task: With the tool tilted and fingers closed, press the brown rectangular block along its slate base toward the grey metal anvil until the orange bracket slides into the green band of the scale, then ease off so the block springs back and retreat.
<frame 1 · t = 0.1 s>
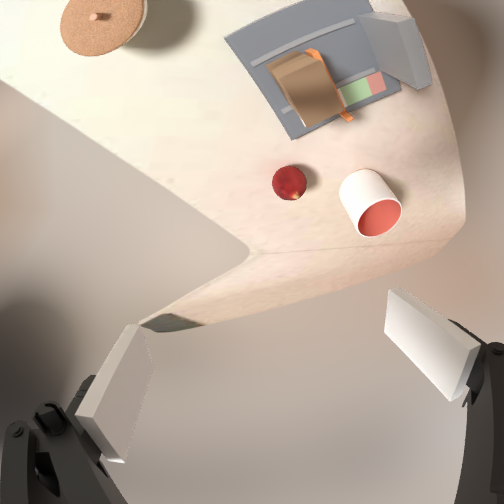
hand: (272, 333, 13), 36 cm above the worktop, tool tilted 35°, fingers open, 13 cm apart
brown rectangular block: (301, 84, 30), point 7 cm above the worktop, slide at 0.0 cm
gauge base: (322, 58, 32), on the worktop
cup: (358, 185, 53), on the worktop
onion: (284, 170, 48), on the worktop
orange bracket: (329, 84, 32), point 5 cm above the worktop, slide at 0.0 cm
lidded jar: (118, 15, 23), on the worktop
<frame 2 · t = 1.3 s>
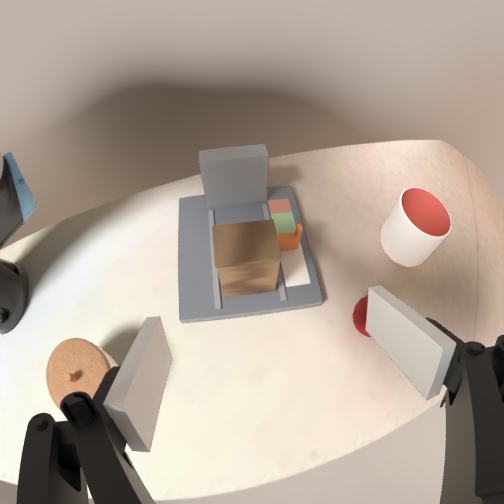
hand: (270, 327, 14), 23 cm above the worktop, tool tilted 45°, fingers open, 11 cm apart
brown rectangular block: (246, 261, 35), point 7 cm above the worktop, slide at 0.0 cm
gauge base: (242, 248, 44), on the worktop
cup: (401, 245, 44), on the worktop
onion: (363, 323, 37), on the worktop
orange bracket: (261, 241, 39), point 5 cm above the worktop, slide at 0.0 cm
lidded jar: (104, 385, 32), on the worktop
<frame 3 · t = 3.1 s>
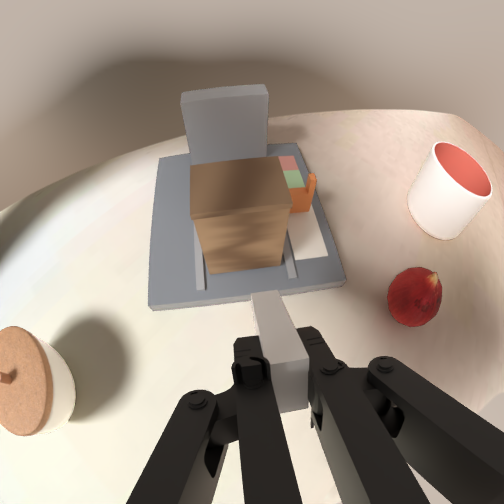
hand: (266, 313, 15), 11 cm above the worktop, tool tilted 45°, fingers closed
brown rectangular block: (240, 220, 24), point 7 cm above the worktop, slide at 0.0 cm
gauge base: (236, 214, 33), on the worktop
cup: (431, 215, 34), on the worktop
onion: (397, 310, 27), on the worktop
orange bracket: (260, 197, 28), point 5 cm above the worktop, slide at 0.0 cm
lidded jar: (57, 390, 22), on the worktop
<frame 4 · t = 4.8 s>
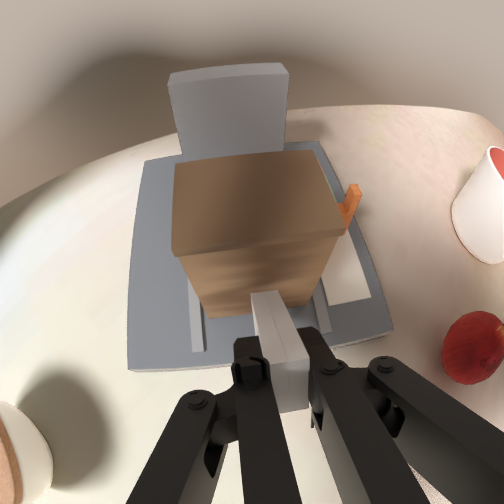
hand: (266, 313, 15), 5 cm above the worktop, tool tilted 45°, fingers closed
brown rectangular block: (252, 246, 16), point 7 cm above the worktop, slide at 0.8 cm, touching gripper
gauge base: (245, 236, 25), on the worktop
cup: (475, 233, 25), on the worktop
onion: (447, 358, 18), on the worktop
orange bracket: (281, 218, 20), point 5 cm above the worktop, slide at 0.0 cm
lidded jar: (33, 451, 13), on the worktop
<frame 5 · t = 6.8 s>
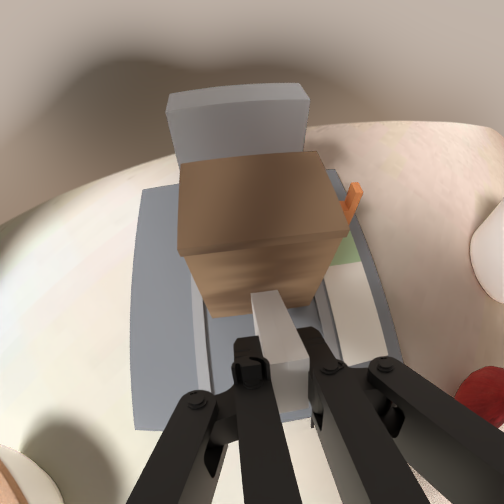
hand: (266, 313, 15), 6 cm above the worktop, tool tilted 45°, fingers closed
brown rectangular block: (256, 246, 16), point 7 cm above the worktop, slide at 5.5 cm, touching gripper
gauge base: (255, 285, 22), on the worktop
cup: (492, 269, 23), on the worktop
onion: (456, 406, 16), on the worktop
orange bracket: (283, 215, 20), point 5 cm above the worktop, slide at 5.1 cm
lidded jar: (42, 490, 11), on the worktop
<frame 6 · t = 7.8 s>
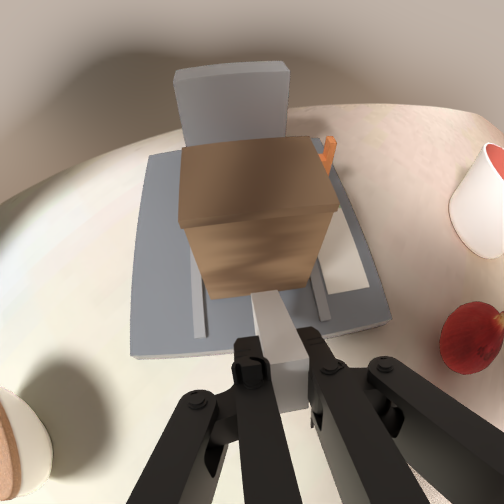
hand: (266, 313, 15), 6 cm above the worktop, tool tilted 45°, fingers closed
brown rectangular block: (253, 227, 17), point 7 cm above the worktop, slide at 1.3 cm
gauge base: (246, 228, 25), on the worktop
cup: (473, 229, 26), on the worktop
onion: (445, 350, 19), on the worktop
orange bracket: (270, 164, 23), point 5 cm above the worktop, slide at 5.1 cm
lidded jar: (33, 441, 14), on the worktop
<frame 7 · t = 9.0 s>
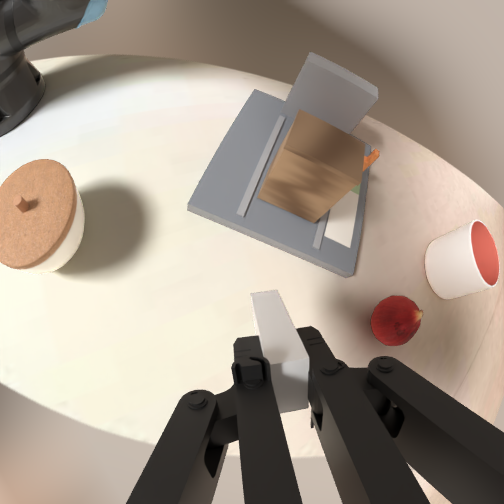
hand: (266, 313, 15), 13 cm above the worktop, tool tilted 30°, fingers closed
brown rectangular block: (308, 171, 27), point 7 cm above the worktop, slide at 1.3 cm
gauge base: (295, 172, 35), on the worktop
cup: (438, 270, 37), on the worktop
onion: (375, 323, 31), on the worktop
orange bracket: (332, 143, 32), point 5 cm above the worktop, slide at 5.1 cm
lidded jar: (56, 238, 25), on the worktop
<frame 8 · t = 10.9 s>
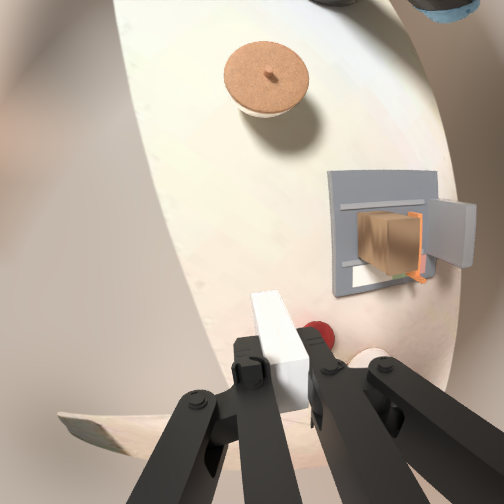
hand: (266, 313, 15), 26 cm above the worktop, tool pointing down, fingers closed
brown rectangular block: (386, 239, 36), point 7 cm above the worktop, slide at 1.3 cm
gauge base: (388, 228, 43), on the worktop
cup: (364, 364, 50), on the worktop
onion: (310, 327, 46), on the worktop
orange bracket: (417, 246, 39), point 5 cm above the worktop, slide at 5.1 cm
lidded jar: (260, 93, 36), on the worktop
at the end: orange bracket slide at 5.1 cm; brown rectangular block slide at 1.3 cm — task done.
